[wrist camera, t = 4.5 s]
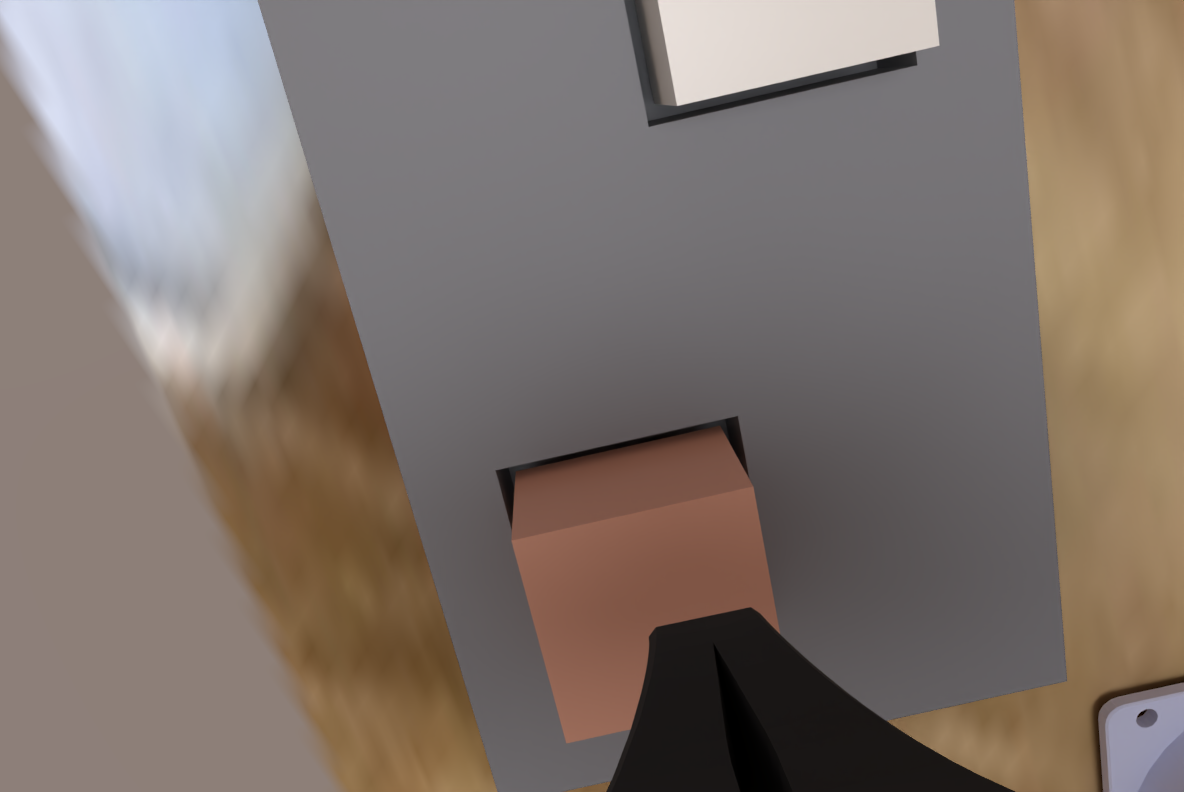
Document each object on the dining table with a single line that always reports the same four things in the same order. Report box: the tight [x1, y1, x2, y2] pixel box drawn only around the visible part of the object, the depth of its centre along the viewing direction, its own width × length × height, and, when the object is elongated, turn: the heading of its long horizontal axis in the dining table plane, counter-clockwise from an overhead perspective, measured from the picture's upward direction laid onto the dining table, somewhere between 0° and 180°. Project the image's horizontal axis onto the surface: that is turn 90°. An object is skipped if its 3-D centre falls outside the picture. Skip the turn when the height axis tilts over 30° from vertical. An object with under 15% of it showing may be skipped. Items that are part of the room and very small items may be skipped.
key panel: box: [258, 0, 1067, 792], centre depth 18 cm, size 12×20×3 cm, turn 12°
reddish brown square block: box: [511, 426, 780, 743], centre depth 18 cm, size 4×4×3 cm
